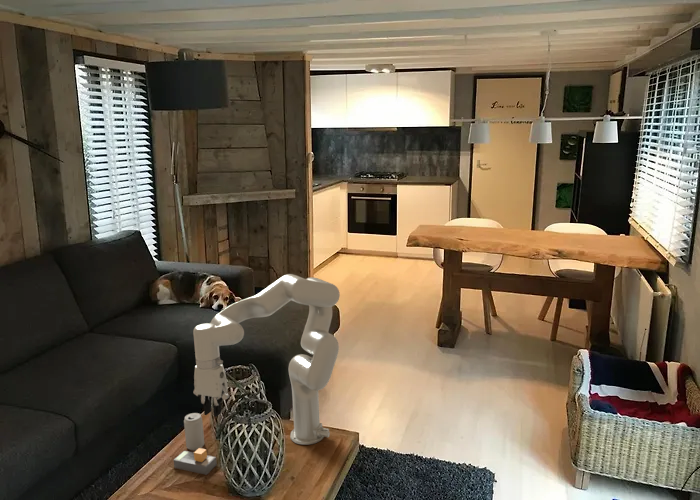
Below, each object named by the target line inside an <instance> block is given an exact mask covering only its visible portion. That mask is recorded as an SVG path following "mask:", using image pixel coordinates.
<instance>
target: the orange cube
mask: <svg viewBox="0 0 700 500" xmlns="http://www.w3.org/2000/svg"><path fill="white" fill-rule="evenodd" d="M207 451H208V450H207V448H206V449H205V448H203V447H201V448H198V449H197V450H194V451H193V452H194V460H195V461H199V462H203V461H204V460H205V459H206V458H207V455H208V453H207Z"/></svg>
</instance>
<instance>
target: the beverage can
mask: <svg viewBox="0 0 700 500" xmlns="http://www.w3.org/2000/svg"><path fill="white" fill-rule="evenodd" d="M203 423H204V422H203V417H202V415H201V413H198V412H192V413H188V414H186V415H185V416H184V420H183V426H184V427H183V428H184V436H185V445H186V448H187V449H188V450H189V451H196V450H197V449H198V448H203V447H204V445H205V435H204V424H203Z"/></svg>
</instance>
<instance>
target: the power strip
mask: <svg viewBox="0 0 700 500" xmlns="http://www.w3.org/2000/svg"><path fill="white" fill-rule="evenodd" d="M194 452H195V451H190V450H189V451H188V450H183V451H181V452H180V454H179V455H178V456H176V457H175V458H174V459H173V467H174V469H178V470H184V471H186V472H187V471H188V472H192V473H196V474H199V475H200V474H201V475H204V476H205V475H208V474H209V473H210V472H211V471H212V470H214V468H215V467H217V465H218V464H217V457H216V456H212V455H208V454H207V458H206V459H205V460H204V461H203V462H199V461H195V460H194Z"/></svg>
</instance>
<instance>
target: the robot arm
mask: <svg viewBox="0 0 700 500" xmlns="http://www.w3.org/2000/svg"><path fill="white" fill-rule="evenodd" d="M340 296H341V295H340V290H339V288H338V287H337V286H336V285H335V284H334V283H331V282H329V281H325V280H323V279H320V278H317V277H307V278H304V277H301V276H299V275H297V274H293V273H287V274H284V275H282V276H281V277H279V278H278V279H277V280H275V281H273V282H272V283H271V284H269V285H267V287H266V288H265V287H264V289H262V290H261V291H260V292H257V294H255V295H252V296H250V297H246V298H244V299H241V300H238V301H237V302H234V303H231V304H230V305H228V306H227V307H225V308H224V309H222V310H221V311H220V312H218V313H217V314H216V315H214V317H213V318H212V319H211V321H210V322H209V323H208V322H206V323H205V322H204V323H201V324H198V325H196V326H195V327H194V328H193V333H192V335H193V342H194V352H195V353H194V355H195V364H196V365H195V366H194V375H193V379H194V381H193V382H194V383H193V386H194V389H193V395H195V396H196V397H198V398H199V400H200V403H201V404H202V406H203V414H204V416H207V415H209V414H210V413H212V410H213V416H214V417H215V418H217V417H219V415H221V414H222V403H223V401H225V400H227V399H229V398H230V395H229V393H228V390H229V388H228V387H229V386H228V379H227V375H226V370H225V368H224V365H223V363H224V360H222V359H221V356H220V355H221V354H220V347H221V346H231V345H232V346H233V345H235V344H238V343H239V342H241V341H242V339H243V338H244V336H245V329H244V328H243V326H242V324H240V323H242V322H244V321H246V320H249V319H253V318H254V319H255V318H265V317H270V316H271V315H273V314H274V313H276V312H277V311H278V310H280V309H281V308H282V307H284V306H286V304H288V303H289V302H291V301H292V302H295V303H296V304H300V305H304V306H308V307H309V309H308V310H309V311H308V316H307V320H306V323H305V325H304V328H303V333H302V335H301V338H300V346H301V348H302V349H303V350H304V351H305V352H307V353H309V354H310V355H312V356H309V355H307V354H302V353H300V354H296V355H294V356H293V357H292V358H291V360H290V361H289V363H288V375H289V380H290V384H291V396H292V399H291V400H292V411H293V412H292V413H293V414H292V415H293V429H292V430H291V431H290V437H289V438H290V440H291V441H292V442H294V443H295V444H297V445H302V446H303V445H314V444H316V443H319V442H320V441H322V440H323V439H324V438H329V437H330V429H329V428H325V427H323V423H321V422H320V420H321V419H320V402H319V401H320V400H319V391H320V390H321V391H322V390H323V389H324V388H325V387H326V386H327V385H328V383H329V381H330V380H331V376H332V374H333V370H334V369H335V363H336V360H337V358H338V354H339V350H340V349H339V348H340V346H339V341H338V339H337V337H336V336H335V335H333V334H332V333H330V332H329V330H330V327H331V323H332V319H333V306H335V305H336V304H337V303H338V302H339V300H340ZM210 397H212V398H213V403H214V405H213V406H212V401H211V399H210ZM212 408H213V409H212Z"/></svg>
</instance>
